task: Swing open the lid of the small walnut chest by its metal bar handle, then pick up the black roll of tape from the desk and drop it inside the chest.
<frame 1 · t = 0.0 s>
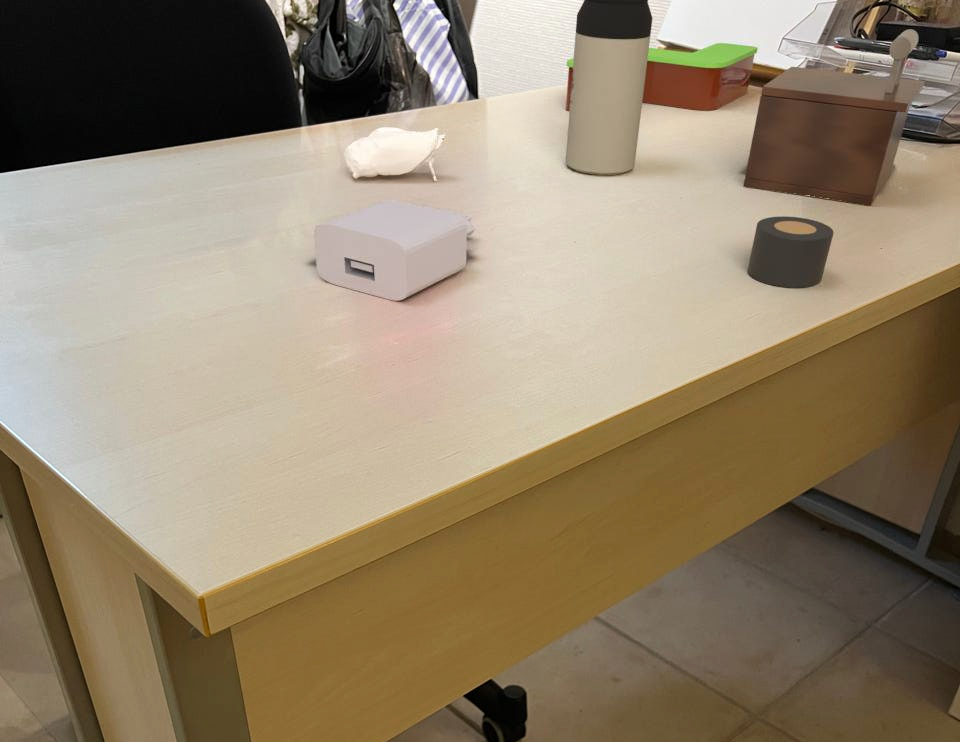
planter: (660, 102, 139), on the table
chest: (818, 181, 107), on the table
charger: (414, 269, 82), on the table
bird figurine: (390, 180, 103), on the table
tape: (784, 274, 83), on the table
travel mug: (599, 169, 109), on the table
lid: (851, 60, 99), point 12 cm above the table, hinge at 0.0°
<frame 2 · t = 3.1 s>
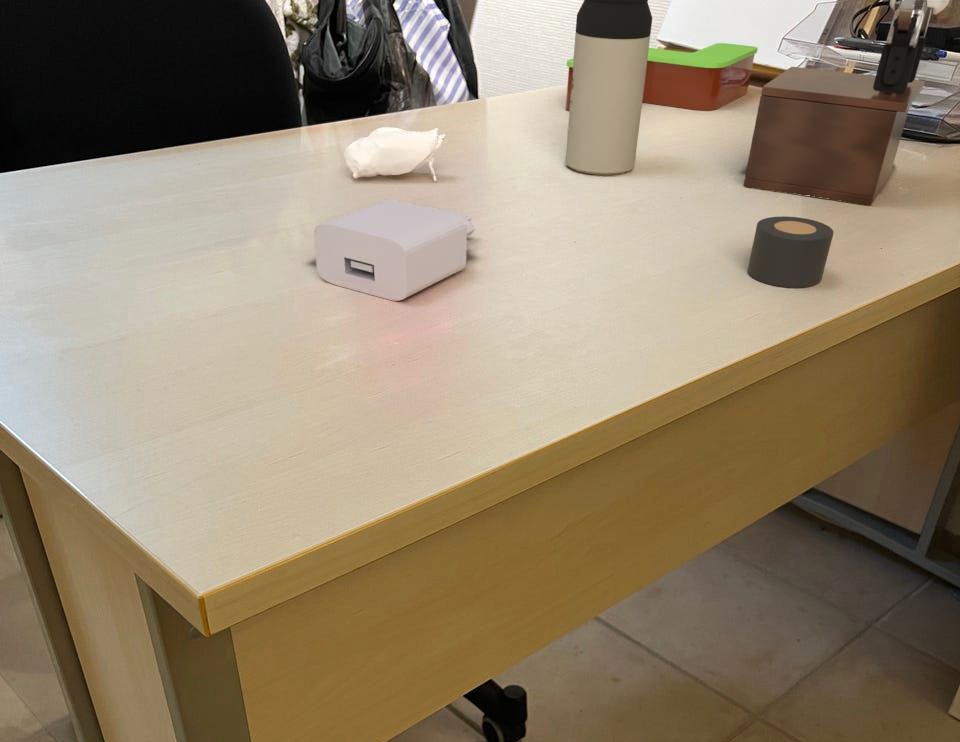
hand: (893, 84, 99), 10 cm above the table, tool pointing down, fingers closed on lid, 6 cm apart
lid: (851, 60, 99), point 12 cm above the table, hinge at 0.0°, touching gripper
everything else where it was.
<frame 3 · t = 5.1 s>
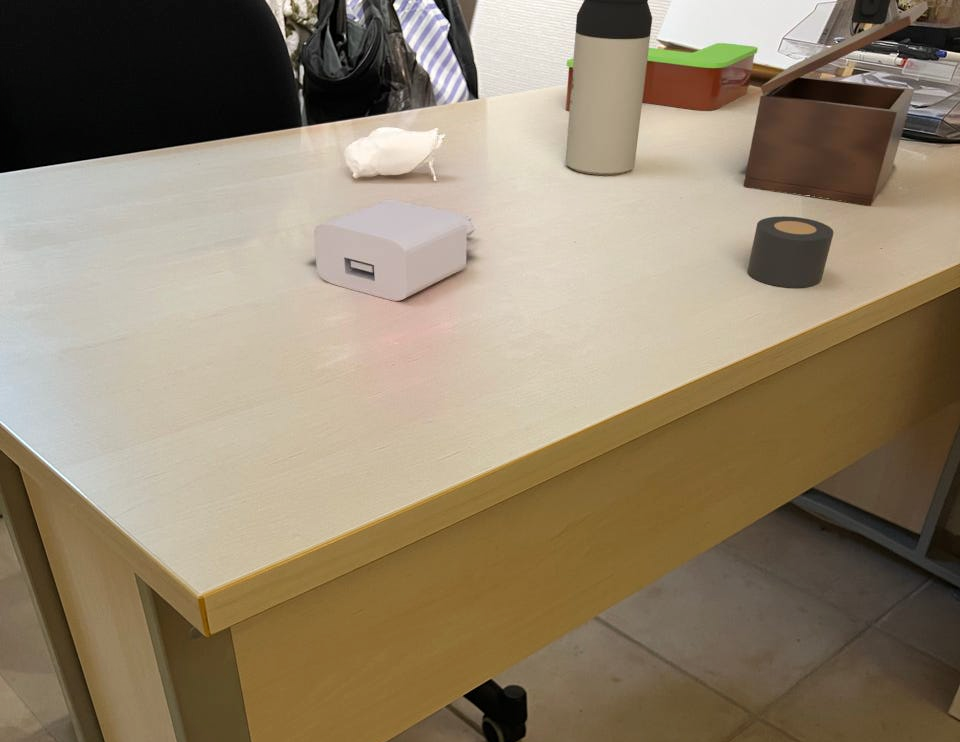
hand: (873, 17, 96), 16 cm above the table, tool pointing down, fingers closed on lid, 6 cm apart
lid: (838, 21, 98), point 15 cm above the table, hinge at 29.8°, touching gripper
everything else where it was.
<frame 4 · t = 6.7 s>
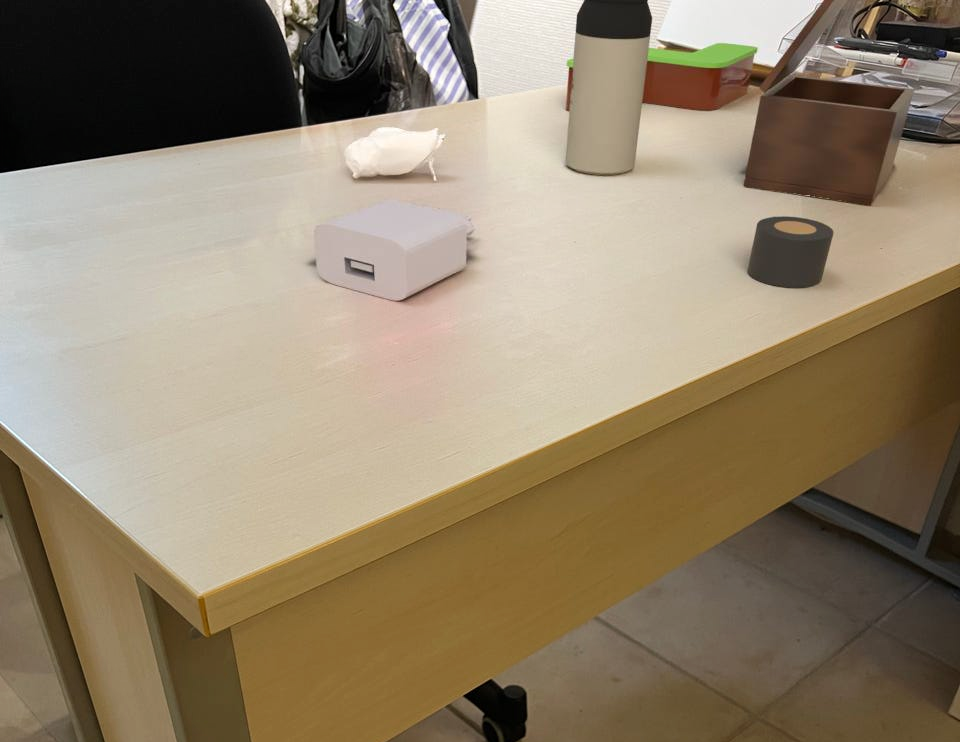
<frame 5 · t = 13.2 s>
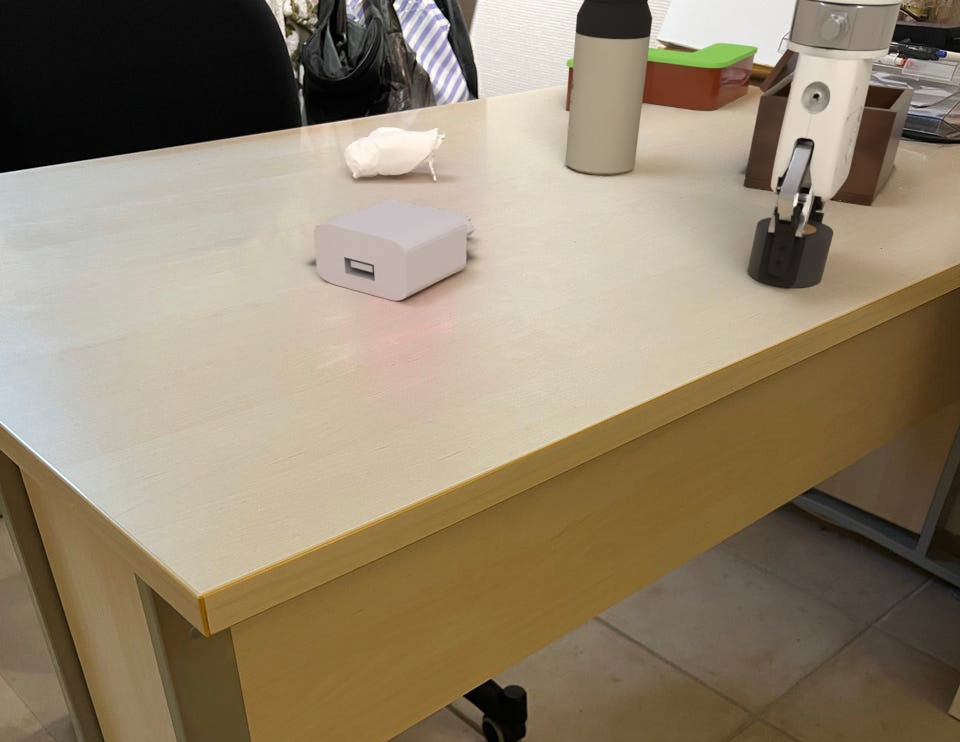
hand: (785, 267, 83), 1 cm above the table, tool pointing down, fingers closed on tape, 6 cm apart
tape: (784, 274, 83), on the table, touching gripper
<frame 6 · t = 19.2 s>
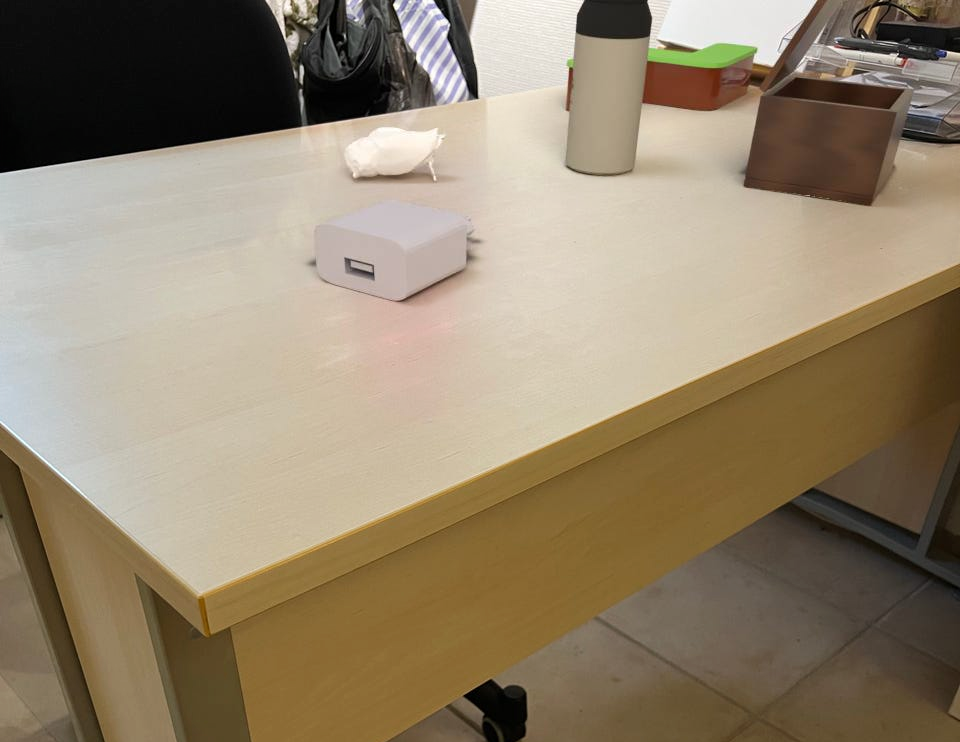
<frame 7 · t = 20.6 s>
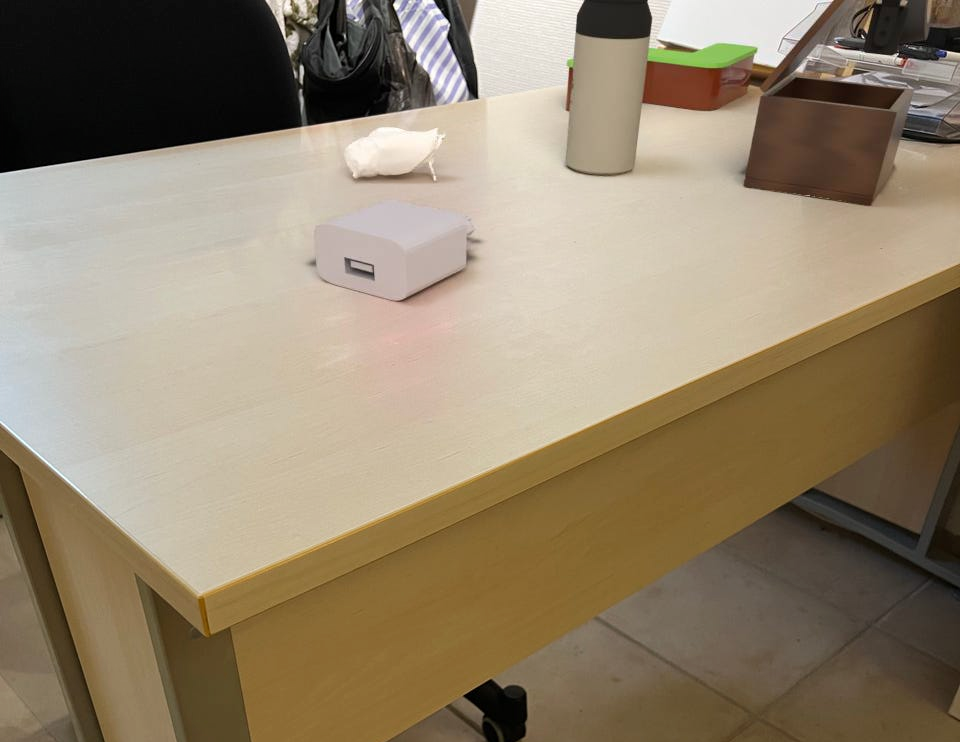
hand: (884, 46, 97), 13 cm above the table, tool pointing down, fingers closed on tape, 6 cm apart
tape: (886, 9, 95), point 17 cm above the table, tilted 77°, touching gripper
lid: (813, 0, 98), point 17 cm above the table, hinge at 55.4°
everything else where it was.
when the fingers open (8 cm above the table, at t = 22.6 s): tape drops 10 cm, resting on chest.
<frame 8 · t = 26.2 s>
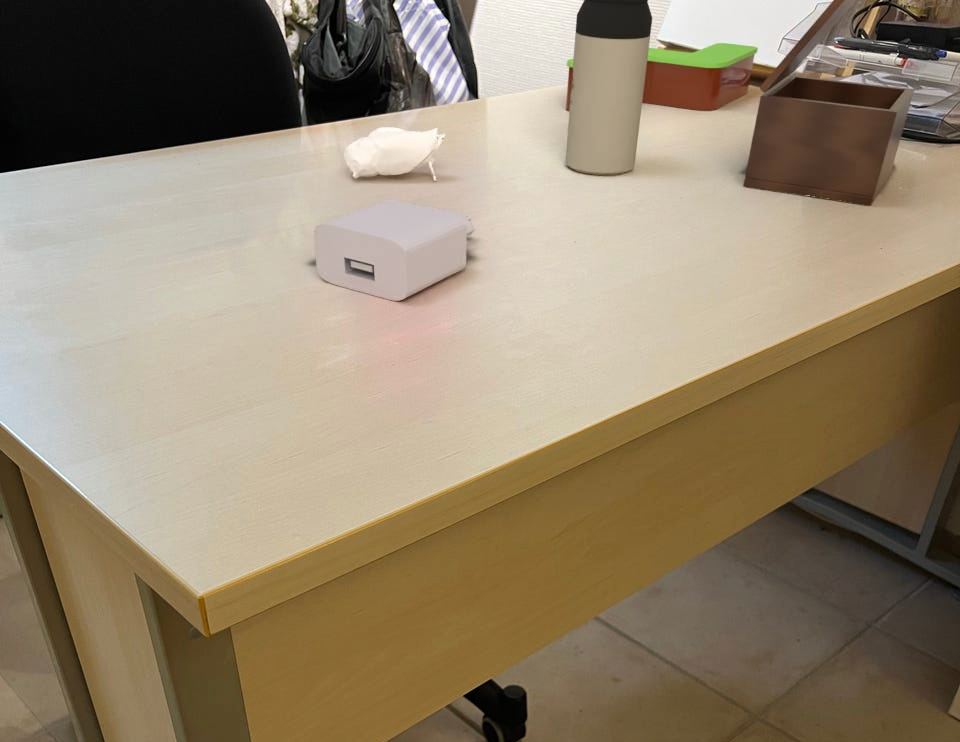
tape: (838, 175, 106), point 1 cm above the table, touching chest
everything else where it was.
at the end: lid at +55° (first picture: +0°); tape inside the target area in the chest (2.0 cm from its centre), point 0.9 cm above the chest's base; the gripper is holding nothing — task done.
